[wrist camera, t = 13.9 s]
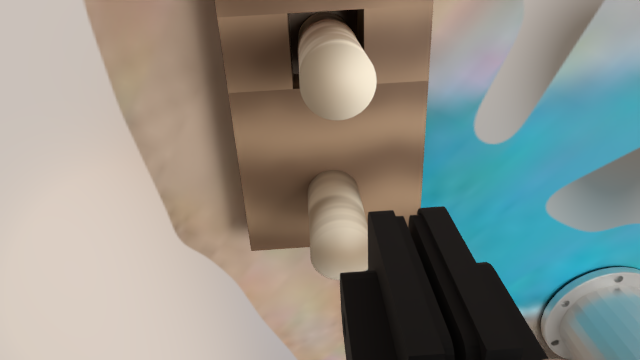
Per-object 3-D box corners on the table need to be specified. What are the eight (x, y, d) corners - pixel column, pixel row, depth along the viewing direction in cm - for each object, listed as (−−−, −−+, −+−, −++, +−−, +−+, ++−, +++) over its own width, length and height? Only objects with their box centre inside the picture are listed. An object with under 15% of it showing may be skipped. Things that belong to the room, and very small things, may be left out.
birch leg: (351, 9, 33) (378, 40, 23) (352, 65, 35) (377, 118, 25) (295, 12, 33) (295, 45, 23) (299, 69, 35) (301, 123, 25)
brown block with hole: (408, 213, 42) (446, 307, 31) (255, 224, 42) (241, 321, 31) (421, -57, 32) (484, -55, 21) (217, -45, 31) (178, -37, 21)
